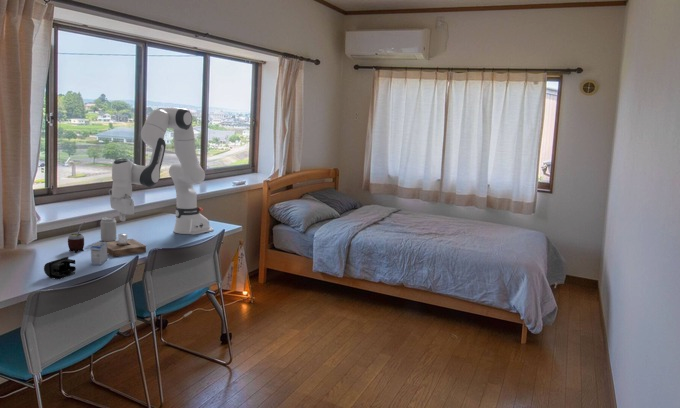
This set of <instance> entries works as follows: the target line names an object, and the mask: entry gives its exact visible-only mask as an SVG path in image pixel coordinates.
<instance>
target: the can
mask: <svg viewBox="0 0 680 408" xmlns="http://www.w3.org/2000/svg"><path fill="white" fill-rule="evenodd" d="M99 225H100V240H101V242H112V241H117V239H118V236H117V220H116V218H115V217H112V216H109V217H107V216H105V217H102V218H101V220H100V224H99Z"/></svg>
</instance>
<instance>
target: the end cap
mask: <svg viewBox="0 0 680 408" xmlns="http://www.w3.org/2000/svg"><path fill="white" fill-rule="evenodd" d="M72 264H73V265H72ZM74 265H76V260H75V259H71V258H70V259H69V256H64V257H62V258H58V259H55V260H51V261H49V262H47V263H45V264H44V266H43V271H44V274H45V275H46V276H47V277H49V278H50V279H52V278H55V279H54V280H58V279H59V280H62V279H65V278H68V277H70V276H72V275H75V274H76V272H75V271H76V266H74ZM64 277H65V278H64ZM61 278H62V279H61Z"/></svg>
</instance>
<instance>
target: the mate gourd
mask: <svg viewBox="0 0 680 408" xmlns="http://www.w3.org/2000/svg"><path fill="white" fill-rule="evenodd" d="M85 223H86V222H82V223H81V224H80V225H79V227H78V230H77V233H71V234H70V235H69V236H68V238H67V245H68V249H69V250H68V252H74V253H76V254H77V253H78V252H83V251H84V247H85V237H84V235H83V234H82V233H80V230H81V228H82V226H83V225H84V224H85Z"/></svg>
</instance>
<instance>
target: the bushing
mask: <svg viewBox="0 0 680 408" xmlns="http://www.w3.org/2000/svg"><path fill="white" fill-rule="evenodd" d="M117 239H118V240H117V241H118V242H119V247H120V246H127V239H128V234H127V233H119V234H118V236H117Z"/></svg>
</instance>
